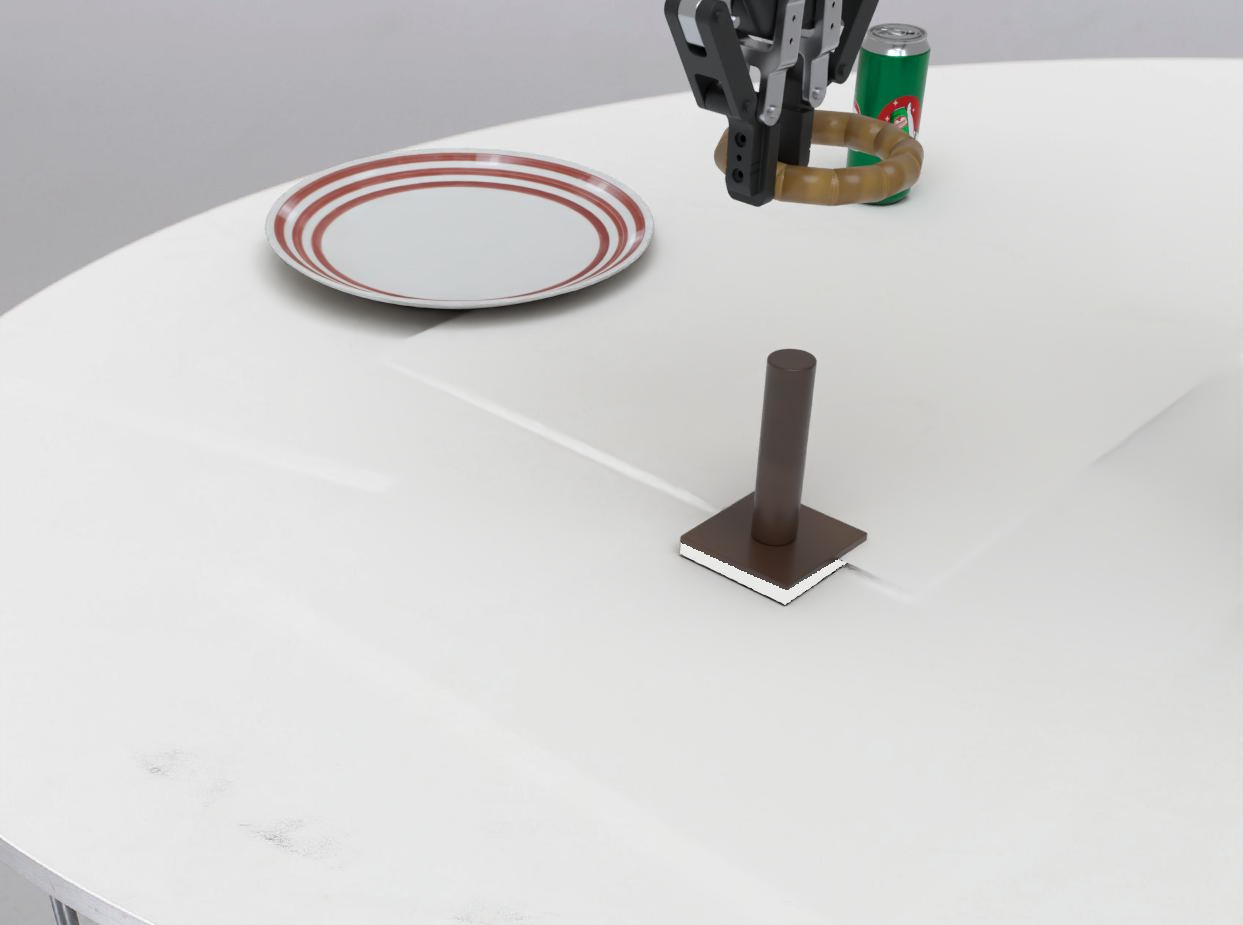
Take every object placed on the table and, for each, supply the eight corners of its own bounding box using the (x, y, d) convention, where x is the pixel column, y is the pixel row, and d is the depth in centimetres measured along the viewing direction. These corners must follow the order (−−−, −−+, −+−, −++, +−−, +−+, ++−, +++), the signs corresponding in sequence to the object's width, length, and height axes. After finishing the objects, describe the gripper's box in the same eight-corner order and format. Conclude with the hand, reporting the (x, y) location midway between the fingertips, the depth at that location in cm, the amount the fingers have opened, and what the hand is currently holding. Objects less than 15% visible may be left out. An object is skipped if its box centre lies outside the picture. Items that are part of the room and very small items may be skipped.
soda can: (849, 179, 127) (868, 18, 120) (914, 186, 126) (937, 24, 119) (837, 202, 124) (856, 38, 116) (903, 210, 122) (927, 44, 115)
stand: (759, 504, 90) (777, 315, 83) (865, 551, 86) (893, 357, 79) (678, 555, 86) (690, 360, 79) (785, 606, 82) (807, 407, 75)
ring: (797, 124, 82) (801, 92, 81) (959, 172, 77) (965, 138, 76) (673, 172, 77) (675, 138, 76) (838, 227, 72) (843, 191, 71)
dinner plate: (711, 223, 121) (714, 178, 119) (545, 374, 102) (545, 325, 100) (395, 166, 131) (392, 124, 129) (192, 295, 112) (185, 248, 110)
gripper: (770, -204, 58) (734, 260, 69) (981, -252, 66) (919, 174, 77) (615, -227, 62) (605, 214, 73) (830, -269, 70) (792, 137, 81)
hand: (766, 192), depth 75 cm, fingers closed on ring, 1 cm apart
